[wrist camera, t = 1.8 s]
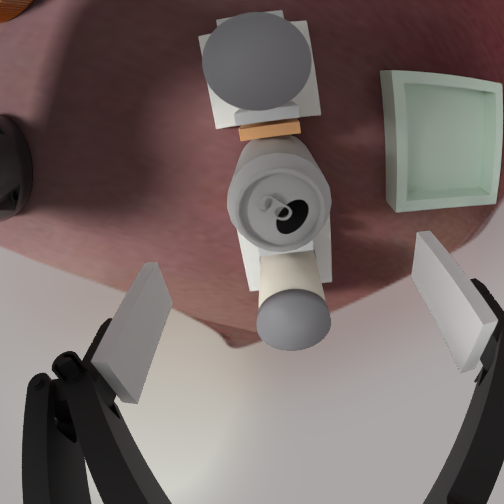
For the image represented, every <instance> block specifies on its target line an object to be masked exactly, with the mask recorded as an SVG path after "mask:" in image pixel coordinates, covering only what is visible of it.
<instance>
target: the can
mask: <svg viewBox="0 0 504 504" xmlns="http://www.w3.org/2000/svg"><path fill="white" fill-rule="evenodd" d="M331 203H332V201H331V194H330V187H329V185H328V183H327V181H326V179H325V177H324V175H323V174H322V172H321V170H320V168H319V167H318V165H317V163H316V162H315V160H314V158H313V157H312V155H311V153H310V152H309V150H308V149H307V147H306V145H304V144H303V143H302V142H301V141H300V140H299V139H298V138H296V137H294V136H292V135H281V136H273V137H266V138H259V139H252V140H251V141H250V142H249V143H248V144H247V145H246V146H245V147H244V149H243V151H242V153H241V155H240V158H239V160H238V163H237V166H236V169H235V172H234V175H233V178H232V181H231V184H230V187H229V190H228V199H227V208H228V212H229V215H230V218H231V222H232V223H233V224H234V226H235V227H236V229H237V230H238V231H239V233H240V234H241V235H243V236H244V237H245V238H246V239H247V240H248V241H249V242H251V243H252V244H253V245H255V246H256V247H259V248H262V249H264V250H267V251H273V252H286V251H292V250H296V249H298V248H300V247H302V246H304V245H306V244H308V243H309V242H310V241H311V240H312V239H314V238H315V237H316V236H317V235H318V233H319V231H321V230H322V228H323V226H324V224H325V223H326V221H327V219H328V217H329V213H330V208H331Z"/></svg>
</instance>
